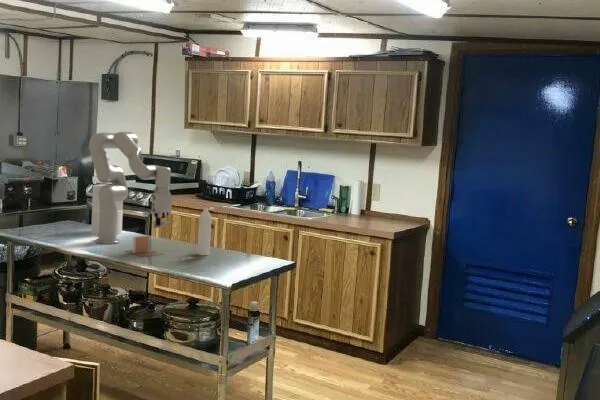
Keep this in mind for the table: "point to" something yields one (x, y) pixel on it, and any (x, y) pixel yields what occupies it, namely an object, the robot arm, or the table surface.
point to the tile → (140, 244)
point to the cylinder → (97, 208)
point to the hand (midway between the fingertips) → (160, 224)
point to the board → (144, 253)
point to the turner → (161, 222)
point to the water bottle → (204, 232)
